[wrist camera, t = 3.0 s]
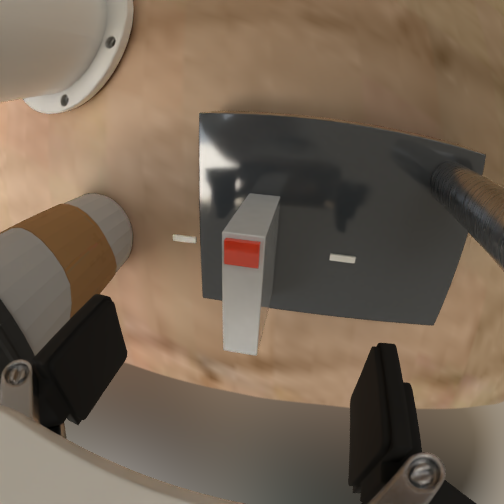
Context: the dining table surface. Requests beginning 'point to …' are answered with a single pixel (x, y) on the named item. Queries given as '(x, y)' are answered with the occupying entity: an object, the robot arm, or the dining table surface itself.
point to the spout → (472, 204)
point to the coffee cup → (56, 269)
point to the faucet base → (335, 212)
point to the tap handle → (248, 271)
